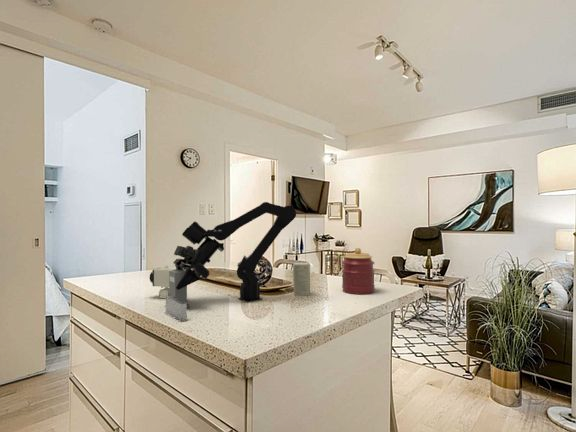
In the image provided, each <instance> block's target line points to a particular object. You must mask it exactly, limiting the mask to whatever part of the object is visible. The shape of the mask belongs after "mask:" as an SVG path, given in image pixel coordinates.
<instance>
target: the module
mask: <svg viewBox="0 0 576 432" xmlns="http://www.w3.org/2000/svg"><path fill="white" fill-rule="evenodd" d="M185 273H186V271H183V270H174V271H169V296H172V297H176V299H178V300H180V301H182V302H184V303H186V304H187V303H188V285H187V286H185V287H183V288H181V289H179V290H178V289H177V288H176V287H177V285H178V284H179V282H180V281H181V279H182V278H183V276H184V275H185Z"/></svg>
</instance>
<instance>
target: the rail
mask: <svg viewBox="0 0 576 432" xmlns="http://www.w3.org/2000/svg"><path fill="white" fill-rule="evenodd" d="M190 309H191V303H189V302H187V304H186V303H184V302H182V301H180V300H178V299H176V297H172V296H166V299H165V313H167V314H168V315H169V316H170V317H172V318H174V319H176V320H178V321H180V322H187V321H188V319H187V315H188V314H187V310H190Z"/></svg>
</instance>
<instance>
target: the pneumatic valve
mask: <svg viewBox="0 0 576 432" xmlns="http://www.w3.org/2000/svg"><path fill="white" fill-rule="evenodd" d="M174 270H176V267H175V268H174V267H173V268H170V267H169V266H168V265H165V266H164V267H158V268H154V269H152V271H151V272H150V273H149V281H150V283H151V285H152V287H160V288H161V289H159V291H158V296H159V298H160V299H165V300H166V296H169V271H174Z"/></svg>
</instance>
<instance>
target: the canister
mask: <svg viewBox="0 0 576 432" xmlns="http://www.w3.org/2000/svg"><path fill="white" fill-rule="evenodd" d="M343 258H344V259H343V260H342V261H341V264H342V267H343V268H342V270H341V272H342V273H341V274H342V284H341V287H342V291H343V292H344V293H347V294H354V295H369V294H373V293H374V292H375V289H376V288H375V286H376V285H375V270H374V265H375V262H374V261H373V259H372V258H373V256H372V255H370V254H369V253H366V252H362V250H361V248H360V247H356V248H355V249H354V252H348V253H347V254H345V255H343Z"/></svg>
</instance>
